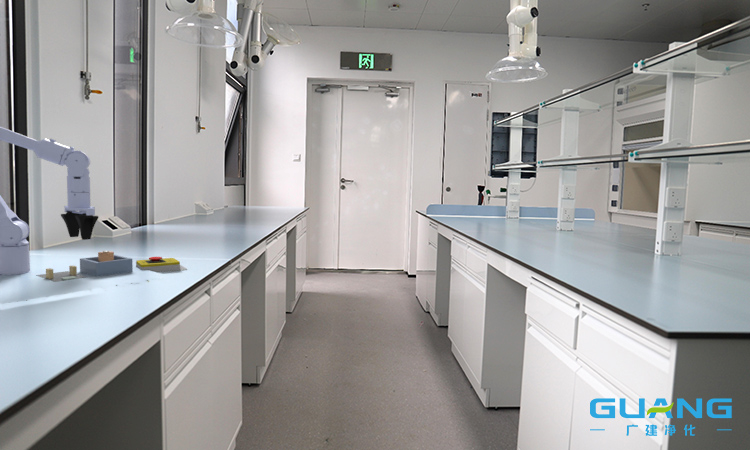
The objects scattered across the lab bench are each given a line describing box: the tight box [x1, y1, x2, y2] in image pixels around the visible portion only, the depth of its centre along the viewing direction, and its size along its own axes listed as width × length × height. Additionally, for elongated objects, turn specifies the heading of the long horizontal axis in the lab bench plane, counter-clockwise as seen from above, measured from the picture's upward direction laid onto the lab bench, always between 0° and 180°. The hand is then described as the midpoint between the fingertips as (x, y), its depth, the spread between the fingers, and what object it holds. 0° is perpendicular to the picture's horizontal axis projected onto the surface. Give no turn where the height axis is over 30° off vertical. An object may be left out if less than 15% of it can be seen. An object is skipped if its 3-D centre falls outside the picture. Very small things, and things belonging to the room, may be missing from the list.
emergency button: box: [135, 256, 188, 274], centre depth 149 cm, size 9×4×15 cm
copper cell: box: [97, 250, 115, 262], centre depth 138 cm, size 4×4×6 cm
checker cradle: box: [35, 265, 87, 283], centre depth 130 cm, size 12×8×4 cm, turn 56°
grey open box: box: [79, 254, 134, 277], centre depth 138 cm, size 10×10×5 cm
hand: (80, 238), depth 140 cm, fingers open, 7 cm apart
